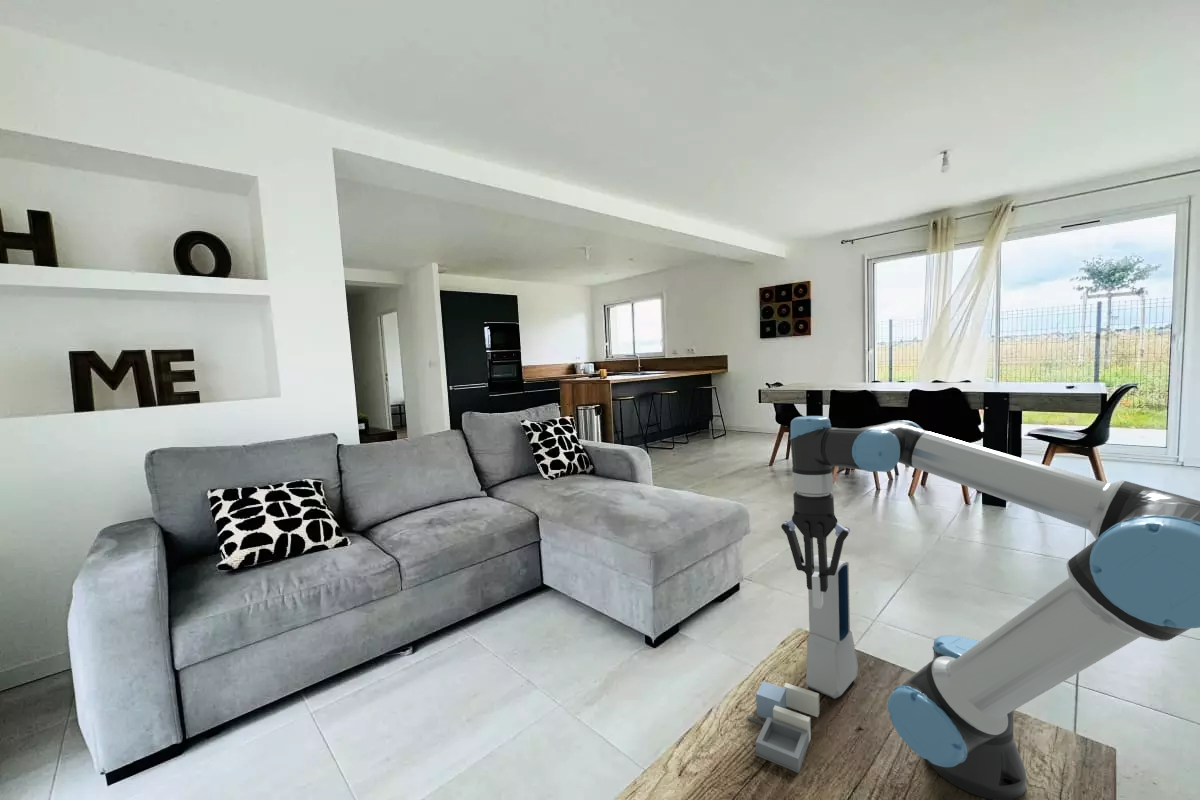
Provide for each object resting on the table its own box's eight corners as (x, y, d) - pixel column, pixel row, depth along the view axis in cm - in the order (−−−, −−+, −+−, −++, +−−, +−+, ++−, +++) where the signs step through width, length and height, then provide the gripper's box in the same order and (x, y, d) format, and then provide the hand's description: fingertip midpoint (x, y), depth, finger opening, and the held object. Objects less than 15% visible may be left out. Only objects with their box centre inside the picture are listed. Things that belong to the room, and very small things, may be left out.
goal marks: (783, 701, 110) (783, 700, 110) (771, 728, 102) (771, 727, 102) (761, 693, 113) (761, 692, 113) (747, 719, 105) (747, 718, 105)
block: (786, 710, 108) (785, 688, 107) (780, 724, 103) (779, 702, 103) (763, 702, 110) (762, 681, 110) (756, 715, 106) (756, 693, 106)
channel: (819, 713, 106) (819, 693, 106) (809, 743, 98) (808, 722, 98) (786, 701, 110) (785, 682, 110) (773, 729, 102) (772, 709, 102)
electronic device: (827, 665, 122) (824, 548, 120) (859, 678, 117) (857, 556, 115) (805, 688, 114) (802, 564, 112) (838, 704, 108) (835, 573, 107)
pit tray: (808, 744, 97) (808, 731, 97) (798, 773, 91) (798, 758, 91) (768, 729, 102) (767, 716, 102) (756, 755, 96) (755, 741, 95)
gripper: (851, 490, 98) (856, 604, 99) (784, 485, 106) (789, 591, 107) (845, 499, 92) (851, 620, 93) (775, 493, 100) (780, 606, 101)
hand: (818, 605), depth 100 cm, fingers closed
